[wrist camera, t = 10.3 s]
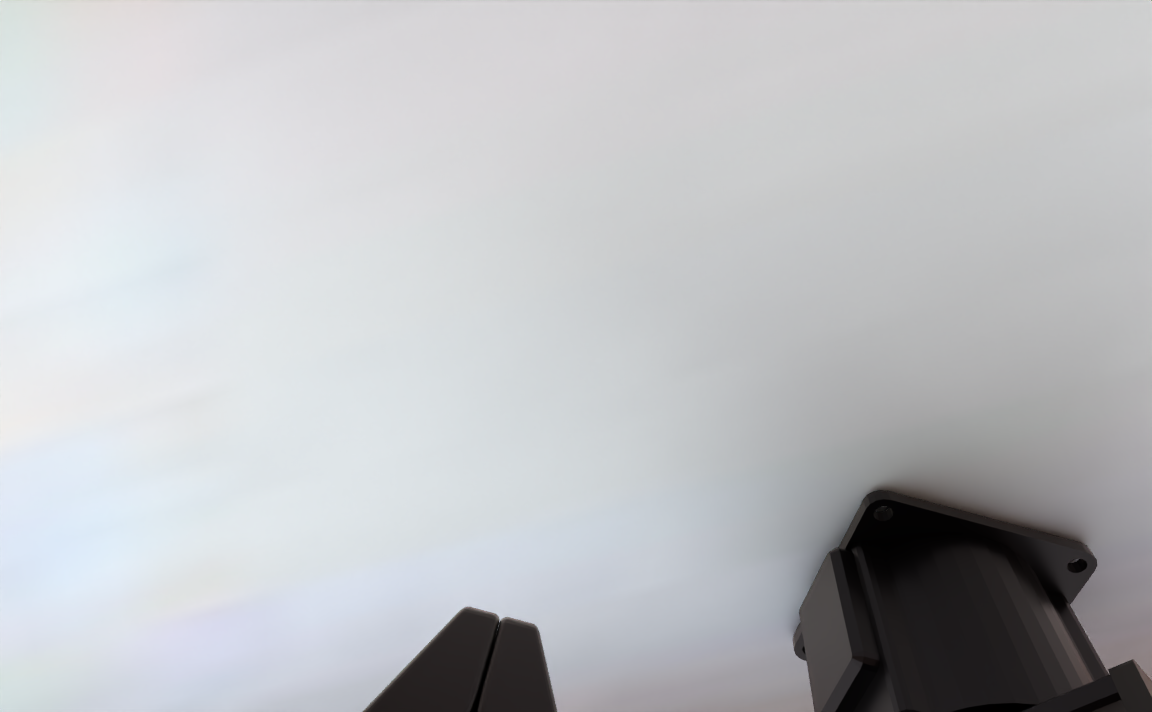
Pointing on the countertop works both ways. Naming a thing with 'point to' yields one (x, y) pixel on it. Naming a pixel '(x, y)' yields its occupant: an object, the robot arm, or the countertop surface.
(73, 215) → the countertop surface
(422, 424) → the countertop surface
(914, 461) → the countertop surface
